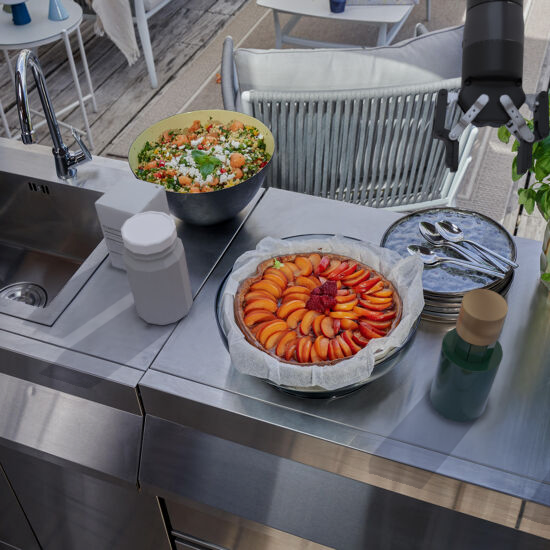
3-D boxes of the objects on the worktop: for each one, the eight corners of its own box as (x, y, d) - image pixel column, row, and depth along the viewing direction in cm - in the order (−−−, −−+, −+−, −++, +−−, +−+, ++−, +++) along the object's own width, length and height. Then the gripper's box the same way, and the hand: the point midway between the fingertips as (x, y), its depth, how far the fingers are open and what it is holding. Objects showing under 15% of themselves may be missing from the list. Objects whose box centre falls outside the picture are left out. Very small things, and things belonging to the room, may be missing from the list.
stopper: (491, 334, 88) (504, 290, 82) (496, 366, 84) (511, 322, 78) (449, 330, 89) (460, 287, 83) (452, 362, 85) (464, 319, 79)
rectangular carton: (138, 237, 124) (123, 173, 113) (178, 249, 121) (166, 184, 110) (110, 267, 118) (92, 202, 107) (151, 280, 115) (137, 215, 104)
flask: (482, 380, 97) (504, 311, 86) (488, 425, 91) (512, 357, 81) (428, 376, 98) (444, 306, 87) (431, 420, 92) (448, 352, 82)
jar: (140, 289, 113) (120, 208, 101) (195, 286, 113) (182, 205, 101) (133, 330, 106) (111, 249, 94) (192, 327, 106) (177, 246, 94)
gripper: (441, 35, 79) (436, 165, 79) (560, 37, 78) (555, 169, 78) (431, 57, 87) (427, 176, 86) (540, 58, 86) (535, 179, 85)
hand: (487, 172), depth 82 cm, fingers open, 8 cm apart
